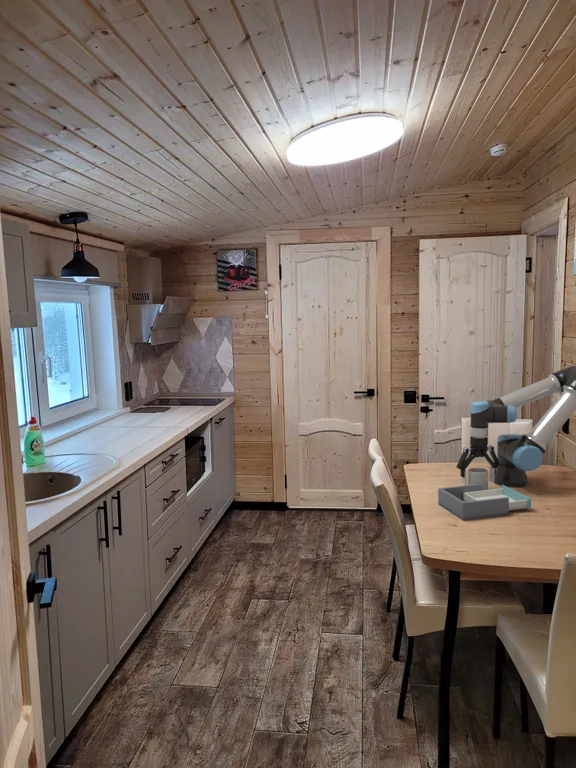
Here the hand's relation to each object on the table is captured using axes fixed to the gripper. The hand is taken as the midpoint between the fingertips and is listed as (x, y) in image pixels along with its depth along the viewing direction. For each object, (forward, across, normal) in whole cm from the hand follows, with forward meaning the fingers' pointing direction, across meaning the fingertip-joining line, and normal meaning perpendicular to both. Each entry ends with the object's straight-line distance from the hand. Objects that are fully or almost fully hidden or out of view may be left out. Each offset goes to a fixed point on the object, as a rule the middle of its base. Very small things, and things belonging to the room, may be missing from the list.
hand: (477, 483), depth 248 cm
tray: (+3, +3, +18) cm, 19 cm away
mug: (+5, 0, 0) cm, 5 cm away
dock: (+5, +14, +18) cm, 23 cm away
